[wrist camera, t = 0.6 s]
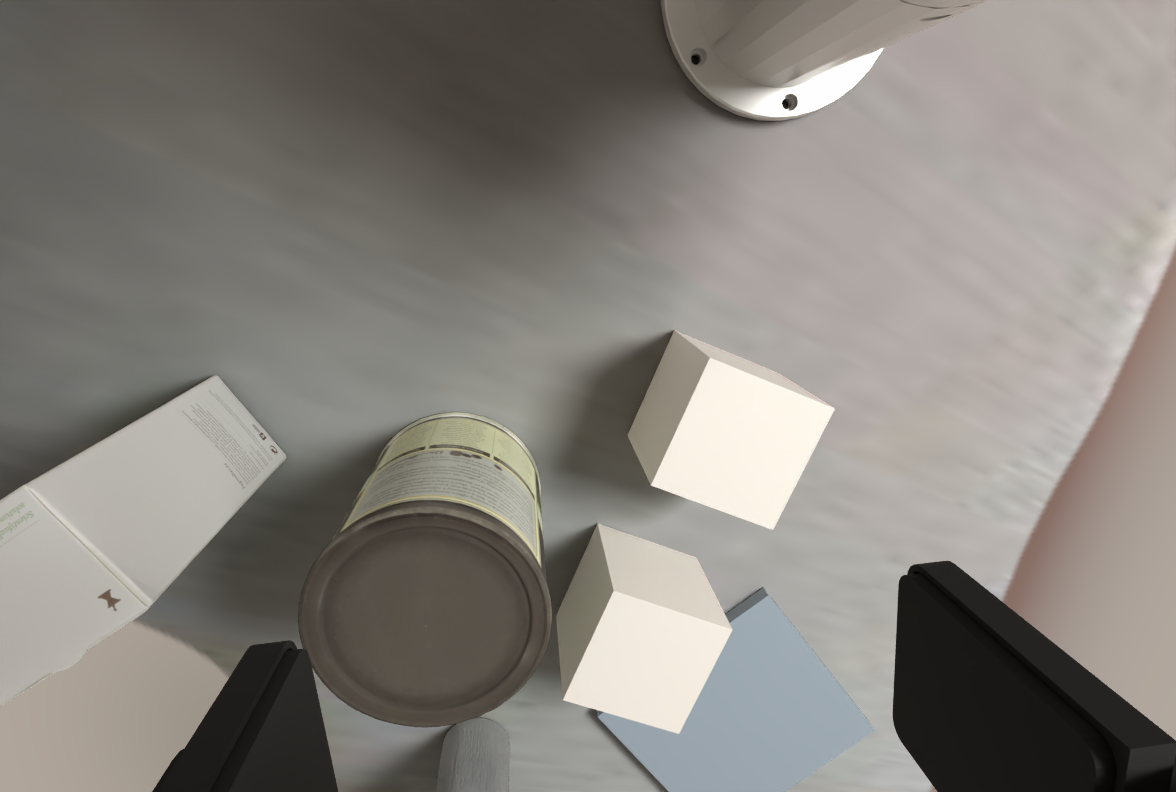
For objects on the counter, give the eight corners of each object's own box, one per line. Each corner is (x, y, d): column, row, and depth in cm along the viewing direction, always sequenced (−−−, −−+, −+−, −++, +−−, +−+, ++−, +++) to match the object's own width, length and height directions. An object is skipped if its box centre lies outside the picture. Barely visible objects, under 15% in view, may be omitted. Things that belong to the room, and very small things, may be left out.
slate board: (763, 587, 45) (768, 595, 44) (867, 720, 49) (874, 730, 48) (596, 706, 47) (597, 716, 46) (710, 827, 50) (714, 839, 49)
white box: (555, 615, 44) (562, 700, 37) (597, 523, 43) (613, 590, 35) (652, 646, 46) (678, 733, 38) (696, 557, 44) (732, 629, 37)
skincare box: (220, 371, 39) (27, 471, 24) (296, 461, 40) (162, 609, 25) (102, 451, 39) (-159, 598, 24) (183, 536, 41) (-15, 724, 26)
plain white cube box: (627, 435, 42) (650, 485, 34) (674, 330, 40) (710, 357, 33) (728, 473, 43) (773, 529, 35) (777, 372, 42) (835, 408, 34)
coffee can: (565, 535, 43) (584, 682, 30) (410, 588, 43) (358, 760, 30) (508, 385, 40) (501, 473, 27) (343, 442, 40) (252, 559, 27)
